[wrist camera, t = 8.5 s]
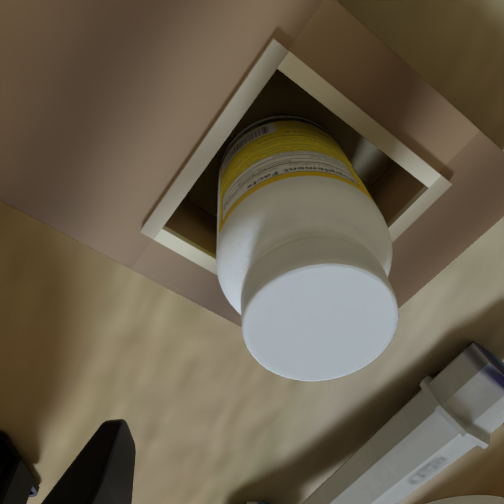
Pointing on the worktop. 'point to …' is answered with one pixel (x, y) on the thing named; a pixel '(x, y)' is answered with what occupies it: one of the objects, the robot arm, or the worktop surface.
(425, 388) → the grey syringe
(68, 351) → the worktop surface
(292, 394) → the worktop surface
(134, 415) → the worktop surface
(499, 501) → the canister
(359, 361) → the supplement bottle
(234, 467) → the worktop surface
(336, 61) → the block with rectangular hole
